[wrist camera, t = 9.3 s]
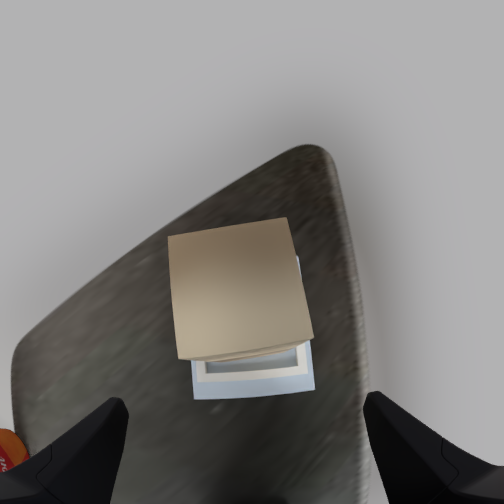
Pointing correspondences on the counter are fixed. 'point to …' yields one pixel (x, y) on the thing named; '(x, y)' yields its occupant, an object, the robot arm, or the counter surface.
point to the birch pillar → (237, 292)
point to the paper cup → (11, 450)
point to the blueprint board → (255, 375)
